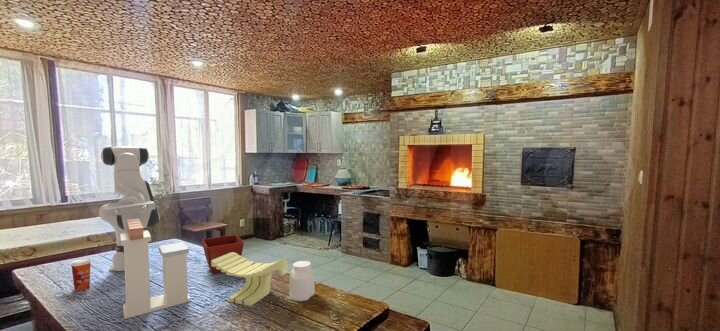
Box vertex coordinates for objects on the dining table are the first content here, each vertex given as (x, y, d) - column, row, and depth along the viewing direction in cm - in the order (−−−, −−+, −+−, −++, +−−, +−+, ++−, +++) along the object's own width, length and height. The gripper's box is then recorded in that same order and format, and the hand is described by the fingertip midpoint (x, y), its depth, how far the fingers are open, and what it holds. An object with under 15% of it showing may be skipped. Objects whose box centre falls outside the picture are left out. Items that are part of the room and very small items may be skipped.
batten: (127, 229, 145) (126, 219, 145) (138, 228, 148) (138, 218, 148) (130, 240, 127) (129, 229, 126) (143, 238, 129) (143, 227, 129)
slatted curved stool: (287, 293, 150) (287, 256, 149) (266, 309, 135) (266, 268, 134) (236, 284, 160) (235, 250, 160) (212, 298, 145) (211, 260, 145)
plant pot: (244, 270, 180) (244, 241, 179) (208, 278, 169) (207, 247, 168) (236, 261, 195) (236, 234, 195) (202, 268, 185) (201, 239, 184)
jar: (304, 302, 141) (304, 269, 140) (286, 299, 144) (286, 266, 144) (317, 292, 151) (317, 261, 151) (300, 288, 155) (299, 258, 154)
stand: (122, 306, 139) (120, 233, 137) (184, 290, 154) (182, 225, 152) (124, 319, 128) (121, 240, 126) (190, 301, 143) (188, 231, 141)
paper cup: (80, 292, 153) (78, 263, 152) (67, 291, 154) (66, 262, 154) (96, 285, 160) (95, 258, 160) (84, 284, 162) (83, 257, 161)
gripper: (155, 208, 166) (157, 213, 155) (105, 216, 154) (104, 222, 143) (153, 196, 165) (156, 201, 154) (103, 203, 153) (102, 208, 142)
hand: (130, 211), depth 148 cm, fingers open, 8 cm apart
